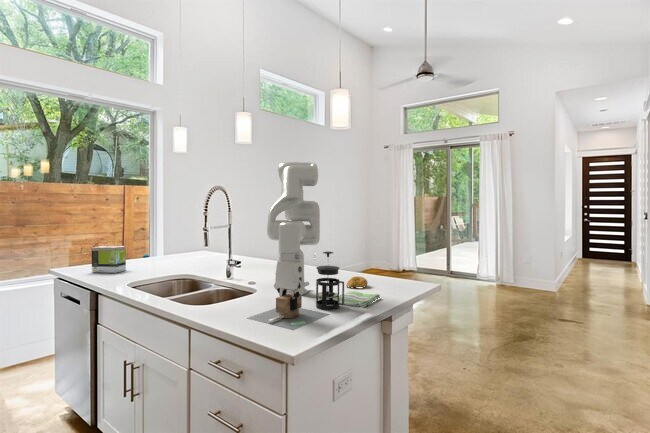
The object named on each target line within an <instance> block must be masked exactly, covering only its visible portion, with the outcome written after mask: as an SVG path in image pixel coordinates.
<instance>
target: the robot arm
mask: <svg viewBox="0 0 650 433" xmlns="http://www.w3.org/2000/svg"><path fill="white" fill-rule="evenodd" d="M277 171H278V177H279V180H280V182H281V192H280V195H281V196H280V197H279V199H277V200H276V201H275V202H274V203H273V204H272V206H271V208H270V210H269V212H268V215H267V226H266V228H267V229H266V233H267V237H268V238H269V239H270V240H271V241H278V260H277V261H276V267H275V282H274V284H273V288H274V289H275V290H276V291H277V293H278V294H279V296H278V297H281V296H284V295H287V294H290V293H291V297H292V299H290V310H295V309H297V298H299V296H300V295H301V294H302V296H303V295H306V294H307V293H308V289H306V287H308V286H310V282H309V281H305V254H304V252H303V250H302V249H301V246H316V245H318V244H319V242H320V239H321V238H320V237H321V235H320V234H321V230H320V229H321V221H320V220H321V218H320V217H321V216H320V215H321V214H320V213H321V210H320V209H321V208H320V204H319V203H318V202H317V201H314V200H304V187H315V186H317V185H318V182H319V168H318V165H317V164H316V163H315V162H299V161H287V162H281V163H280V164H278V167H277ZM282 212H284V217H285V220H284V219H281V220H280V219H278V220H276V219H277V217H278V216H279V215H280V214H281V213H282ZM304 222H306V223H307V222H308V223H309V224H305V223H304Z"/></svg>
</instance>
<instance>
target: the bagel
mask: <svg viewBox="0 0 650 433" xmlns="http://www.w3.org/2000/svg"><path fill="white" fill-rule="evenodd" d="M368 285H369V284H368V280H367V279H366V278H364V277H362V276H353V277H351V278H349V280H348V281H347V282H346V284H345V287H346V286H349V287H364V286H366V287H367V286H368Z"/></svg>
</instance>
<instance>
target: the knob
mask: <svg viewBox="0 0 650 433" xmlns="http://www.w3.org/2000/svg"><path fill="white" fill-rule="evenodd" d="M302 297H303V295H302V294H301V295H300V296H299V298H297V309H295V310H290V299H292V297H291V293H290V294H287V295H284V296H281V297H280V296H278V297H275V308H276V312H277V313H279V316H278V317H275V318H272V319H270V320H268V322H273V321H276V320H279V319H281V318H295V317H298V316H299V308H302V304H303V303H302V302H303V298H302Z"/></svg>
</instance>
